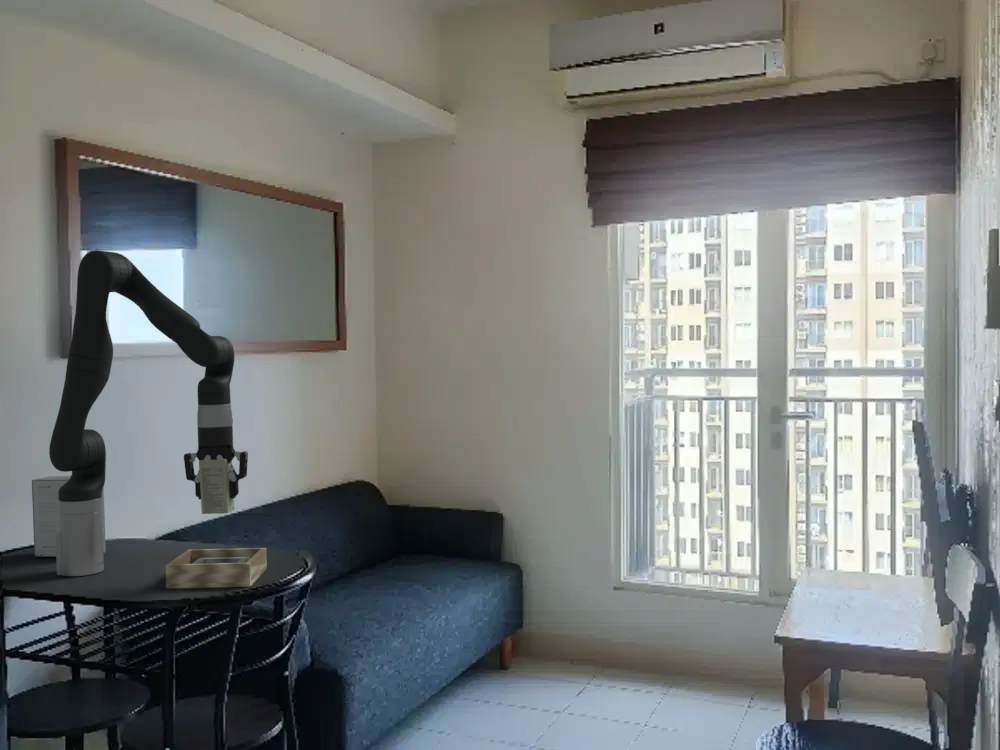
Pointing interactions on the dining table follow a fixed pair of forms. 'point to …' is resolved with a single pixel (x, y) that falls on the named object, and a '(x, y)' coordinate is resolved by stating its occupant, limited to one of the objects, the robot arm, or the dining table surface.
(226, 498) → the skincare box
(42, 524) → the hard drive box
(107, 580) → the dining table surface
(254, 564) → the walled box
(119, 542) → the dining table surface
